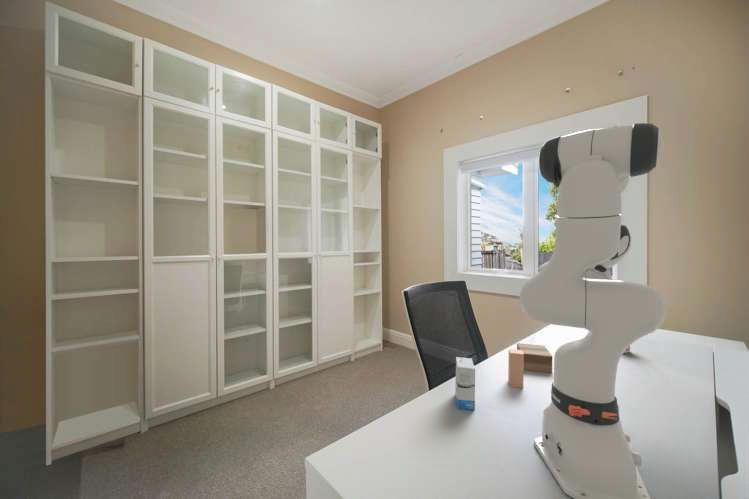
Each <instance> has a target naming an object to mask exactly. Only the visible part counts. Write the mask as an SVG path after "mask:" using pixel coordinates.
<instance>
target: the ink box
mask: <svg viewBox="0 0 749 499" xmlns="http://www.w3.org/2000/svg"><path fill="white" fill-rule="evenodd" d="M454 390H455V391H454V393H455V394H454V396H455V401H456V407H457V409H459V410H460V409H461V410H470V411H471V410H472V411H475V409H476V406H475V405H476V367H475V365H474V361H473V358H470V357H469V358H468V357H461V356H456V357H455V389H454Z"/></svg>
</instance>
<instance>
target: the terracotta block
mask: <svg viewBox="0 0 749 499" xmlns="http://www.w3.org/2000/svg"><path fill="white" fill-rule="evenodd" d="M524 371H525V370H524V354H523V352H522V350H517V348H516V349H513V348H508V371H507V372H508V374H507V375H508V377H507V378H508V379H507V381H508V384H509V387H513V388H521V389H524Z"/></svg>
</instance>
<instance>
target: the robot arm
mask: <svg viewBox="0 0 749 499" xmlns="http://www.w3.org/2000/svg"><path fill="white" fill-rule="evenodd" d="M664 150H665V141H664V137H663V135H662V132H660V130H659V127H657V126H656V125H654V124H653V123H650V122H649V123H646V122H645V123H639V122H638V123H633V125H621V126H609V127H603V128H597V129H596V128H593V129H586V130H583V131H577V132H574V133H571V134H567V135H564V136H562V135H559V136H556V137H552V138H550V139H548V140H546V141H545V142H544V143H543V145H542V146H541V148H540V151H539V155H538V159H537V166H538V170H539V173H540V175H541V177H542V178H543V180H545V181H547V182H548V183H551V184H553V186H554V188H559V189H558V193H557V194H558V196H557V203H556V219H555V221H556V223H555V224H556V226H555V237H554V238H555V240H554V247H553V252H552V254H551V256H550V259H549V260H548V261H546V262H545V263H543V264H541V265H539V266H538V268H537V269H538V273H537V274H535V275H534V276H532V277H530V278H529V279H527V280H526V281H525V282H524V284H523V285H522V287H521V288H520V292H519V305H520V307H521V309H522V311H523V313H524V314H525V315H526V317H528V318H530V319H533V320H536V321H539V322H542V323H546V324H548V325H553V326H554V325H555V326H562V327H568V328H569V327H571V328H578V329H584V330H587V334H586V336H584V337H583V338H581V339H578V340H575V341H574V340H573V341H571V342H567V343H565V344H562V345H560V346H559V347H558V348H557V349H556V351H555V352H554V357H553V358H554V360H553V362H554V363H553V364H554V365H553V382H552V383H551V388H550V394H551V395H550V399H551V402H550V404H549V405H548V406H546V407H545V408H544V409H543V417H542V418H543V419H542V427H541V428H542V430H541V436H539V437H536V438H534V441H533V444H534V447H535V448H536V451H537V452H538V453H539V455H540V456H541V458H542V460H543V461H544V463H545V464H546V466H547V468H548V469H549V471H550V473H551V474H552V475H553V477H554V479H555V480H556V482H557V483H558V484H559V487H560V488H561V489H562V492H563V493H565V495H567V496H568V497H571V498H573V499H652V498H651V496H650V494H649V491H648V490H647V487H646V485H645V483H644V480H643V478H642V476H641V473H640V472H639V469H638V467H642V464H643V462H642V456H641V454H640V453H639V452H637V451H634V450H631V449H630V446H629V443H631V436H630V435H629V434H625V431H624V429H623V426H622V421H621V420H620V408H619V407H620V406H619V404H618V399H617V396H616V393H615V392H616V380H617V379H616V378H617V373H618V366H619V363H620V360H621V357H622V356H623V354H624V351H625V350H626V349H627V348H628V347H629V346H630V347H631V345H633V343H634V342H636V341H637V340H639V339H641V338H643V337H645V336H647V335H649V334H650V335H651V334H652V333H654V332H656V331H657V330H658V329H659V328H660V327H661V325H662V324H664V323H663V322H664V321H665V318H666V316H667V315H666V314H667V311H666V310H667V309H666V305H665V304H666V303H665V301H664V299H663V297H662V296H661V295H660V293H659V292H658V291H657V290H656V289H655V288H653V286H650V285H648V284H647V285H646V284H642V283H638V282H633V281H627V280H621V279H613V277H612V272H611V270H610V269H611V268H612V267H614V266H615V265H617V264H618V263H619V262H621V260H622V259H624V257H626V256H627V254H628V253H629V252H630V250H631V239H632V238H631V233H630V231H629V229H628V227H627V226H626V225H624V224H622V207H623V206H622V193H624V191H625V189H627V186H628V184H629V180H630V177H631V178H633V177H638V176H642V175H645V174H649V173H650V172H652V170H654V169H655V168H656V167H657V164H658V163H659V161H660V160H661V158H662V157H663V156H662V155H663V154H664Z"/></svg>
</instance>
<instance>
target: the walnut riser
mask: <svg viewBox="0 0 749 499" xmlns="http://www.w3.org/2000/svg"><path fill="white" fill-rule="evenodd" d="M516 350H522V352H523V354H524V369H525V370H526V371H532V372H540V373H551V374H552V373H553V355H552V354H551V352H550V351H549V350H548V349H547V347H546V346H545V345H539V344H529V343H528V344H527V343H518V342H516ZM525 370H524V371H525Z"/></svg>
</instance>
